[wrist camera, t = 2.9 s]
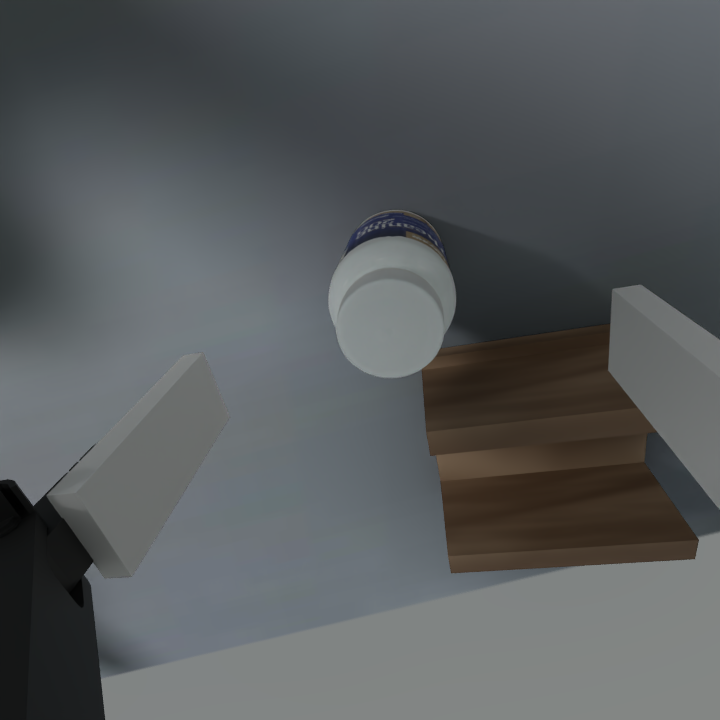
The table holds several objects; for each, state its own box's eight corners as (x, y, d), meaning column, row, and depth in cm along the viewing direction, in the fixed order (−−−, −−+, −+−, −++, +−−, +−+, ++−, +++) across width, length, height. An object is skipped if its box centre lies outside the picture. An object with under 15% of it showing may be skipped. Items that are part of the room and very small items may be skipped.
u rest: (419, 351, 27) (424, 419, 21) (650, 317, 25) (730, 382, 19) (443, 494, 33) (452, 581, 26) (634, 477, 30) (693, 568, 24)
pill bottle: (454, 216, 23) (483, 272, 15) (431, 310, 26) (445, 404, 17) (353, 199, 23) (323, 246, 15) (340, 294, 26) (309, 381, 17)
